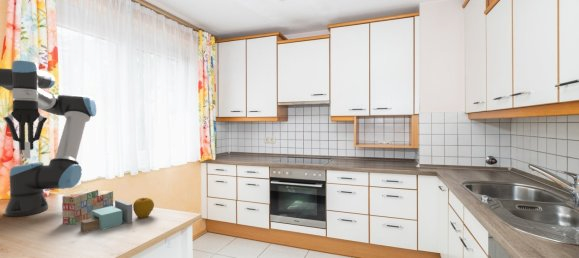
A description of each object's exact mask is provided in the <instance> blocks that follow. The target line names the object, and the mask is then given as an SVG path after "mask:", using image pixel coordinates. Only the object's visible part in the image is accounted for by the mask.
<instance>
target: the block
mask: <svg viewBox="0 0 579 258" xmlns="http://www.w3.org/2000/svg"><path fill="white" fill-rule="evenodd" d="M91 217H92V218H95V217H99V229H98V230H105V229H109V228H114V227H116V226H121V225H123V221H122V210H120V209H118V208H115V206H114V205H113V206H110V207H105V208H100V209H96V210H91Z"/></svg>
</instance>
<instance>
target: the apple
mask: <svg viewBox="0 0 579 258" xmlns="http://www.w3.org/2000/svg"><path fill="white" fill-rule="evenodd" d="M154 207H155V203H154V201H153V199H151V198H149V197H140V198H137V199H136V200H135V201H134V202H133V203H132V211H133V212H134V215H135V216H136V217H138V218H140V219H145V218H147V217H148V216H149V215H151V213H152V212H153V210H154Z"/></svg>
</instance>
